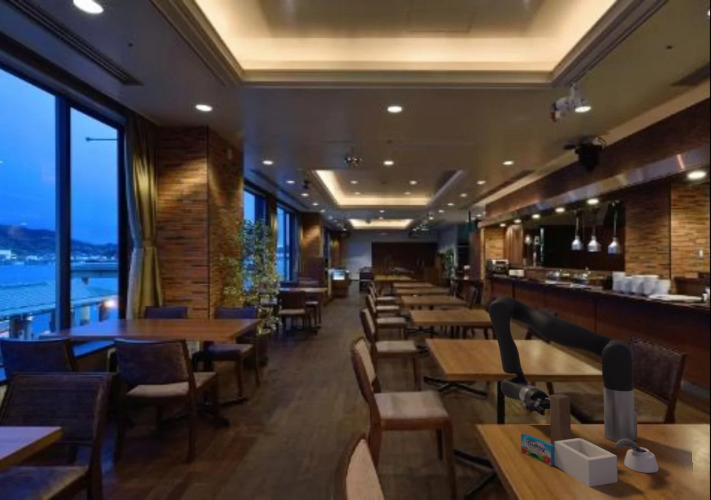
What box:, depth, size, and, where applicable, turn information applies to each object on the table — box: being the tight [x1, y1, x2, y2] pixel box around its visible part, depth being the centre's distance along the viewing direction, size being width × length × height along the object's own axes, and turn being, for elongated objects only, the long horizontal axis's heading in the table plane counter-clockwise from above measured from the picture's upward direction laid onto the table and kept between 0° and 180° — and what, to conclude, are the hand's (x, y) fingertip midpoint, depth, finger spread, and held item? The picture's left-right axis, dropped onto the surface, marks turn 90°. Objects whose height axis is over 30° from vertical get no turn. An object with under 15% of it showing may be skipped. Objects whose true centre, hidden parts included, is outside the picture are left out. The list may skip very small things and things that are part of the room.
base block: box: [554, 437, 618, 487], centre depth 147 cm, size 10×14×8 cm, turn 15°
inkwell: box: [613, 439, 660, 474], centre depth 148 cm, size 9×18×10 cm, turn 124°
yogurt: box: [520, 433, 555, 467], centre depth 158 cm, size 12×2×6 cm, turn 28°
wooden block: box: [549, 393, 576, 452], centre depth 161 cm, size 9×4×18 cm, turn 20°
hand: (556, 412), depth 167 cm, fingers open, 8 cm apart
